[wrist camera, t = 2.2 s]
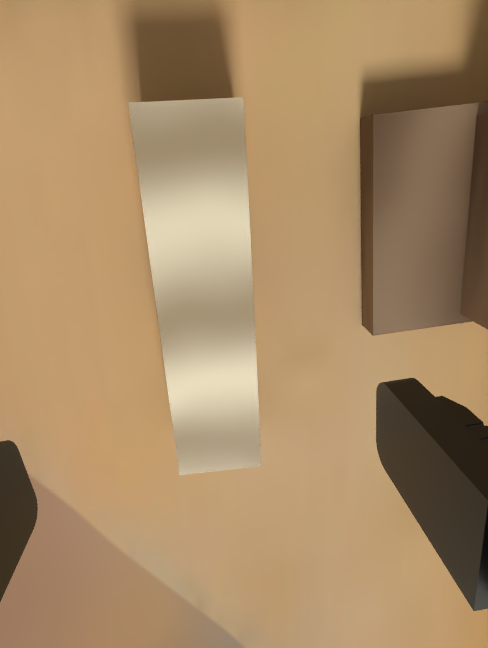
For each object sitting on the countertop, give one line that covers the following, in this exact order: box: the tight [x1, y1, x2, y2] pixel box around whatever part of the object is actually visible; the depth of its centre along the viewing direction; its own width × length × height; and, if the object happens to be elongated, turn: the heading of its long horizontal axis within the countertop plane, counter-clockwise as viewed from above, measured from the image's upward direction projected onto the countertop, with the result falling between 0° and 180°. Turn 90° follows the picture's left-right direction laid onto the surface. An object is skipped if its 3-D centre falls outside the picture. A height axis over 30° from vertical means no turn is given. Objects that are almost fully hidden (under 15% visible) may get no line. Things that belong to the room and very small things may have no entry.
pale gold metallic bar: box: [128, 97, 262, 475], centre depth 19 cm, size 16×4×4 cm, turn 3°
